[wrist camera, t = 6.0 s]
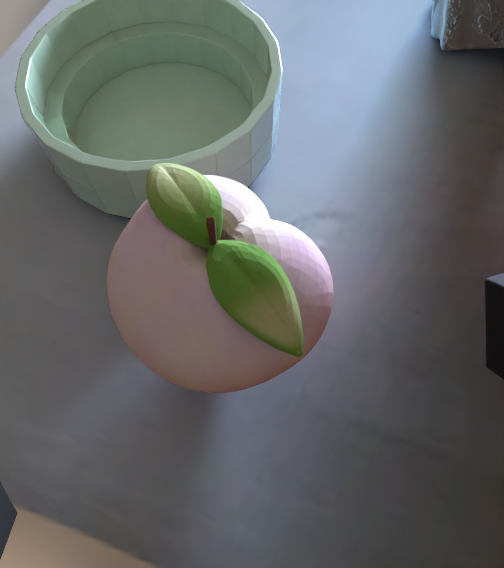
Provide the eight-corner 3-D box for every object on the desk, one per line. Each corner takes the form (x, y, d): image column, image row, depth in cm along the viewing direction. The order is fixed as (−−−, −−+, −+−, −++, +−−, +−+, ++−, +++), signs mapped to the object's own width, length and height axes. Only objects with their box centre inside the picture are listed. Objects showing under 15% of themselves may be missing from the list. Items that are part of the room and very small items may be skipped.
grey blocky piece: (438, -39, 36) (436, -116, 26) (538, -55, 34) (582, -146, 23) (426, 87, 39) (419, 65, 28) (517, 82, 36) (547, 56, 26)
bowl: (16, 200, 26) (-34, 140, 22) (103, 41, 32) (78, -33, 27) (247, 248, 25) (246, 195, 20) (296, 72, 31) (303, 0, 26)
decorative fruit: (105, 321, 23) (6, 216, 14) (218, 225, 25) (198, 82, 16) (230, 456, 20) (209, 435, 11) (344, 335, 23) (403, 235, 14)
